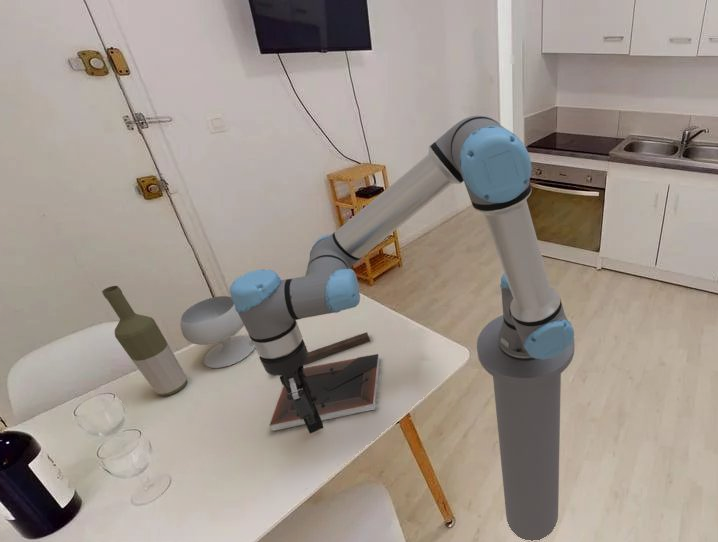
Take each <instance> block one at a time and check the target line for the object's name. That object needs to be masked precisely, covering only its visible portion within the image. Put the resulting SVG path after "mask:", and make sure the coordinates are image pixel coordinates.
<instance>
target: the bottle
mask: <svg viewBox="0 0 718 542" xmlns="http://www.w3.org/2000/svg"><path fill="white" fill-rule="evenodd" d="M101 293H102V294H103V297H104V298H105V299H106V301H107V302H108V303H109V305H110V306H111V308H112V309H113V311H114V312H115V314H116V315H117V317H118V319H119V321H118V323H117V324H116V327H115V328H114V338H116V340H117V342H118V343H119V345H120V346H121V347H122V348H123V350H124V351H125V353H126V354H127V355H128V357H129V358H130V360H131V361H132V362H133V364H134V365H135V366H136V368H137V369H138V370H139V372H140V373H141V374H142V376H143V377H144V379H145V380H146V381H147V383H148V384H149V385H150V387H151V388H152V390H153V391H154V392H155V393H156V394H157V395H159V396H161V397H166V396H171V395H174V394H175V393H178V392H179V391H181V390H182V389H183V388H185V387H186V385H187V383H188V380H187V374H186V373H185V372H184V370H183V368H182V366H181V364H180V362H179V361H178V359H177V357H176V356H175V354H174V352H173V350H172V349H171V347H170V345H169V343H168V341H167V340H166V338H165V335H163V333H162V331H161V329H160V327H159V325H158V324H157V322H156V320H155V319H154V318H153V317H152V316H148V315H144V314H138V313H136V312H135V311H134V309H133V308H132V307H131V304H130V303H129V301H128V300H127V298H126V297H125V295H124V294H123V290H122V289H121V288H120V287H119V285H112V286H108V287H105V288H104V289H103V290H101Z"/></svg>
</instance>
